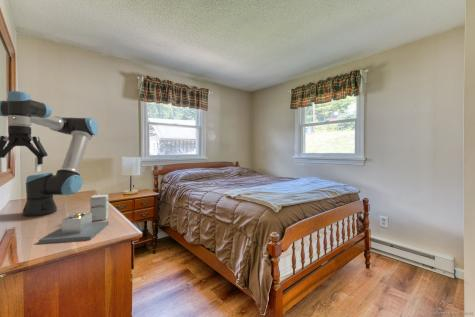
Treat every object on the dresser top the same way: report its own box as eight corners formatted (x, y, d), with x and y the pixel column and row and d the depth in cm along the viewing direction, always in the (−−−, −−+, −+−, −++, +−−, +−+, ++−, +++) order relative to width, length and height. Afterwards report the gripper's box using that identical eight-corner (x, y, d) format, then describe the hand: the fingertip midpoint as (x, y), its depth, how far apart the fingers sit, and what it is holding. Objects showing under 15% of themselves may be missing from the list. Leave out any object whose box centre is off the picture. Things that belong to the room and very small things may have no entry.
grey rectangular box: (75, 226, 101) (75, 213, 101) (92, 225, 102) (91, 212, 102) (62, 233, 91) (62, 219, 91) (80, 232, 92) (80, 218, 92)
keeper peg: (76, 228, 97) (76, 212, 97) (82, 228, 98) (82, 212, 98) (73, 230, 95) (73, 214, 95) (79, 230, 96) (79, 213, 95)
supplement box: (89, 221, 113) (89, 197, 112) (93, 217, 119) (93, 194, 119) (106, 220, 115) (106, 196, 115) (108, 216, 122) (108, 193, 122)
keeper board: (67, 226, 104) (67, 223, 104) (108, 224, 108) (108, 221, 108) (38, 243, 85) (38, 239, 85) (90, 239, 89) (90, 236, 89)
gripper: (-21, 124, 94) (-20, 172, 95) (46, 125, 99) (46, 172, 100) (-6, 126, 101) (-5, 171, 102) (56, 127, 107) (56, 170, 107)
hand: (20, 171), depth 101 cm, fingers open, 13 cm apart
